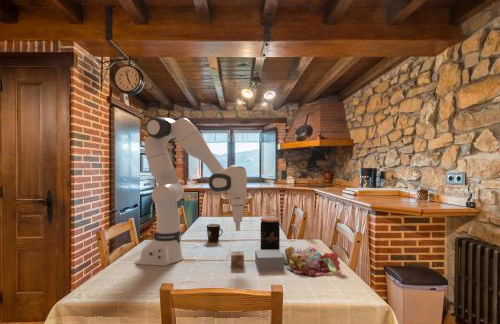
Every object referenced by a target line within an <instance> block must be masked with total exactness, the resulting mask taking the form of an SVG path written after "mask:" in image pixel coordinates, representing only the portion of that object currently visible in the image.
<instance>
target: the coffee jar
mask: <svg viewBox="0 0 500 324" xmlns="http://www.w3.org/2000/svg"><path fill="white" fill-rule="evenodd" d="M280 220H281V219H280V218H279V217H275V216H265V217H261V218H260V250H277V249H279V250H280V245H281V244H280V241H281V240H280V239H281V238H280V232H281V231H280V226H281V225H280V224H281V223H280Z"/></svg>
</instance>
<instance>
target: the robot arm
mask: <svg viewBox="0 0 500 324" xmlns="http://www.w3.org/2000/svg"><path fill="white" fill-rule="evenodd" d="M145 132H146V134H147V135H148V137H146V138H145V139H144V142H143V145H144V146H143V148H144V153H145V157H146V161H147V163H148V164H147V165H148V167H149V170H150V174H151V176H152V177H153V178H154V180H155V181H156V183H157V186H155V187H154V188H153V189H152V192H151V199H152V201H153V203H154V205H155V212H156V217H157V223H156V225H157V228H156V229H157V230H155V231H154V232H153V234H152V238H153V239H151V240H150V241H149V242H148V243H146V244H145V245H144V246H143V248H142V249H141V251H140V255H139V256H138V257H137V258H136V259H135V264H136V265H147V266H167V265H171V264H174V263H178V262H180V261H182V260H183V259H184V256H183V254H182V253H183V252H182V247H181V246H182V245H181V241H182V231H181V215H180V213H179V212H180V211H179V208H178V202H179V201H180V200H181V199H182V198H183V196H184V193H185V189H184V186H183V185H182V184H181V182H180V179H179V176H178V174H177V173H176V171H175V169H174V167H173V163H172V160H171V157H170V153H169V151H168V150H169V149H168V147H167V146H168V145H167V144H168V143H169V144H171V143H172V142H173V141H174V140H177V141H178V143H179V144H180V146H181V148H183V150H184V152H185V153H187V154H188V155H189V156H190V157H192V158H195V159H197V160H199V161H201V163H203V164H205V167H207V169H208V170H209V171H210V173H211V175H210V176H209V177H208V187H209V188H210V189H211V191H213V192H216V193H222V192H223V193H224V192H228V204H230V207H231V212H232V219H233V222H234V223H235V231H237V232H239V231H240V230H241V223H242V222H243V216H244V207H245V205H246V204H248V191H247V185H248V175H247V170H246V168H245V167H243V166H241V165H237V164H231V165H229V166H228V167H226V168H224V167H223V166H222V164H221V163H220V162H219V160H218V159H217V157H216V156H215V155H214V154H213V152H212V151H211V148H210V147H209V146H208V145H209V144H207V142H206V140H205V138H204V136H202V134H201V132H200V130H199V129H198V128H197V127H196V126H195V125H194V124H193V123H192V121H191V120H189V119H188V118H185V117H182V118H179V119H174V118H170V117H162V116H153V117H151V118H149V119H148V120H147V121H146V123H145Z"/></svg>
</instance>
